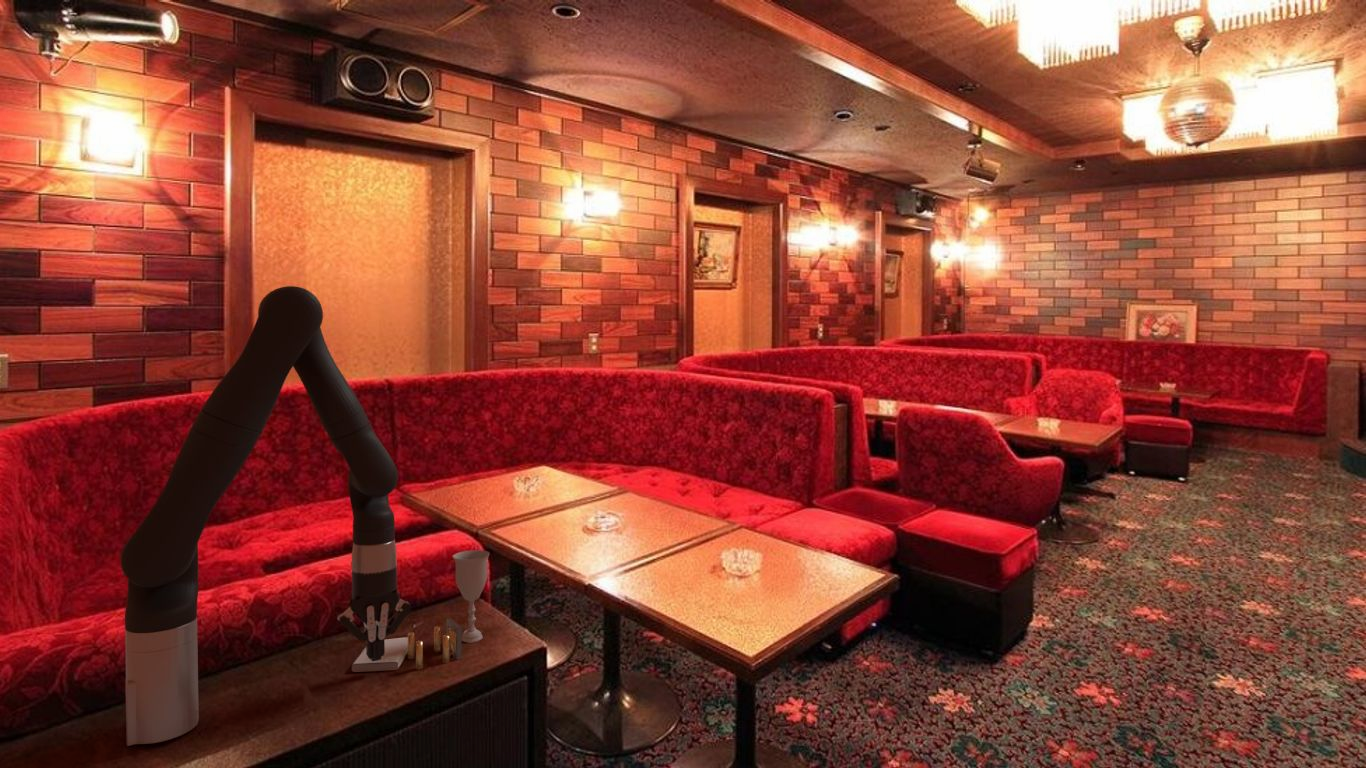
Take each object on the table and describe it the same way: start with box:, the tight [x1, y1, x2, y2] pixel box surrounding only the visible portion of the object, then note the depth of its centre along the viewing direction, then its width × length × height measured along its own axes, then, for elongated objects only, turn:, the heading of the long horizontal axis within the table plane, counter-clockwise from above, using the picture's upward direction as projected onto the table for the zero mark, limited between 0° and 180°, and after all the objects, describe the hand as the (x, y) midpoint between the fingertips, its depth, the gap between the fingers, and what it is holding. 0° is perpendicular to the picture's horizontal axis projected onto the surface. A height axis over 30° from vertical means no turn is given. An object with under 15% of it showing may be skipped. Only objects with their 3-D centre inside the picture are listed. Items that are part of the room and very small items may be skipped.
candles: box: [407, 617, 463, 671], centre depth 137 cm, size 9×6×6 cm
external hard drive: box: [351, 636, 408, 673], centre depth 138 cm, size 2×8×12 cm
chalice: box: [452, 549, 490, 644], centre depth 145 cm, size 7×7×18 cm
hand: (375, 659), depth 131 cm, fingers closed
